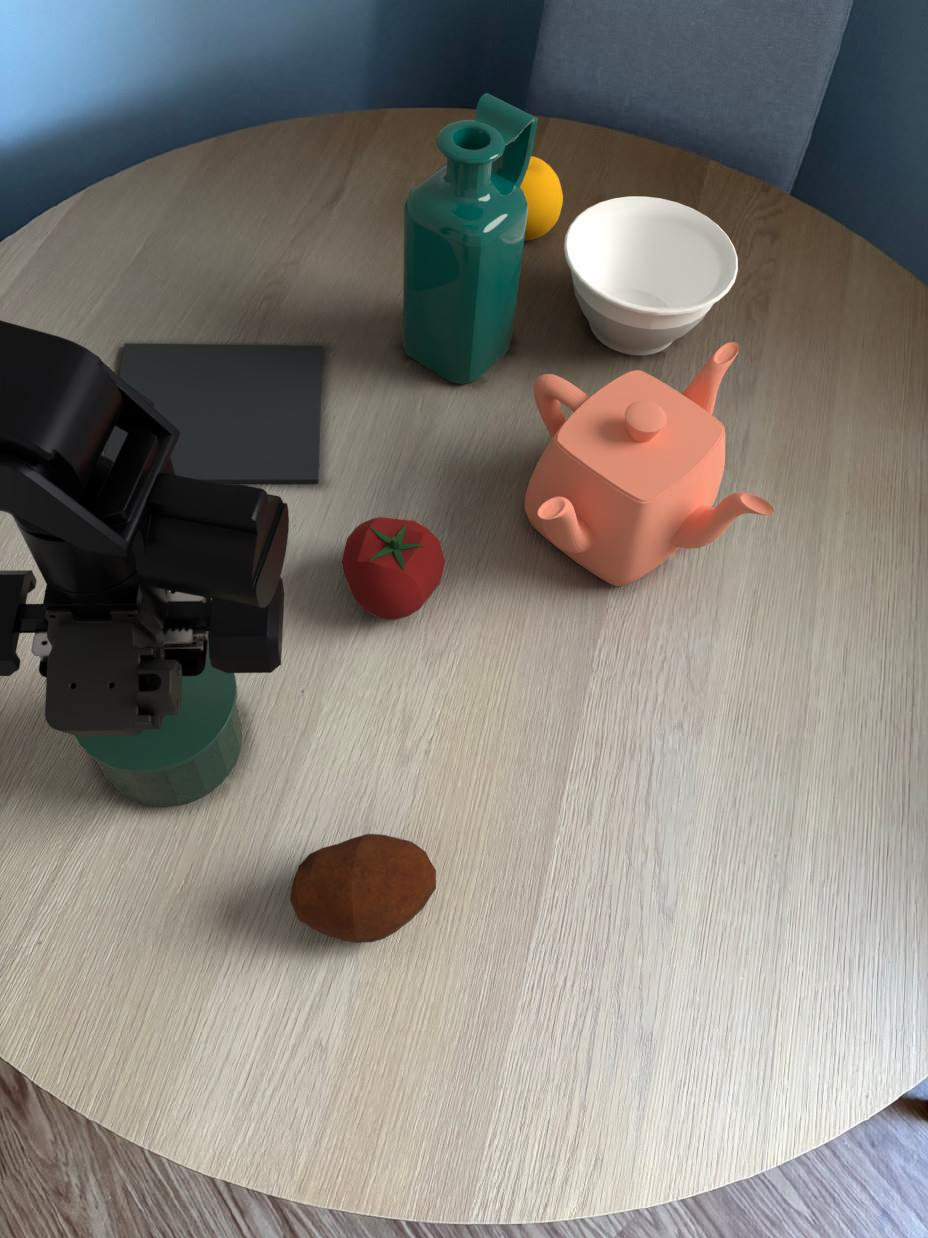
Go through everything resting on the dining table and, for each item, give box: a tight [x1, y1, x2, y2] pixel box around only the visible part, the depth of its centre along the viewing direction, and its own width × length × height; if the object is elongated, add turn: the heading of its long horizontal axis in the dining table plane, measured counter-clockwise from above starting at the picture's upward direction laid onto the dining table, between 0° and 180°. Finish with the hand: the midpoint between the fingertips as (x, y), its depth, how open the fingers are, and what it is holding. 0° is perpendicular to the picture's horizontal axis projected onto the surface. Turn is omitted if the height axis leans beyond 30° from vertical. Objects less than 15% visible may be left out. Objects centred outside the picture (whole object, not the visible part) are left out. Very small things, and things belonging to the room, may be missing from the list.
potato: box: [289, 833, 437, 944], centre depth 68 cm, size 7×9×6 cm
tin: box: [96, 705, 243, 808], centre depth 73 cm, size 10×10×7 cm
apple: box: [520, 155, 564, 241], centre depth 106 cm, size 8×8×8 cm
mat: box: [104, 342, 324, 485], centre depth 93 cm, size 18×16×1 cm
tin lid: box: [74, 643, 238, 774], centre depth 68 cm, size 11×11×6 cm
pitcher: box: [402, 92, 539, 385], centre depth 90 cm, size 10×8×22 cm
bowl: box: [563, 195, 739, 356], centre depth 99 cm, size 16×16×9 cm
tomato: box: [340, 516, 446, 621], centre depth 81 cm, size 8×8×7 cm
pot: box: [524, 341, 775, 587], centre depth 84 cm, size 18×17×12 cm
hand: (149, 687), depth 69 cm, fingers closed on tin lid, 2 cm apart
